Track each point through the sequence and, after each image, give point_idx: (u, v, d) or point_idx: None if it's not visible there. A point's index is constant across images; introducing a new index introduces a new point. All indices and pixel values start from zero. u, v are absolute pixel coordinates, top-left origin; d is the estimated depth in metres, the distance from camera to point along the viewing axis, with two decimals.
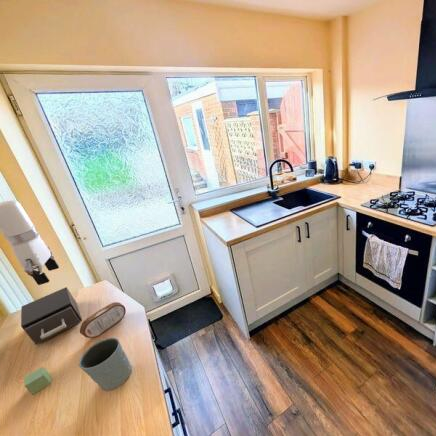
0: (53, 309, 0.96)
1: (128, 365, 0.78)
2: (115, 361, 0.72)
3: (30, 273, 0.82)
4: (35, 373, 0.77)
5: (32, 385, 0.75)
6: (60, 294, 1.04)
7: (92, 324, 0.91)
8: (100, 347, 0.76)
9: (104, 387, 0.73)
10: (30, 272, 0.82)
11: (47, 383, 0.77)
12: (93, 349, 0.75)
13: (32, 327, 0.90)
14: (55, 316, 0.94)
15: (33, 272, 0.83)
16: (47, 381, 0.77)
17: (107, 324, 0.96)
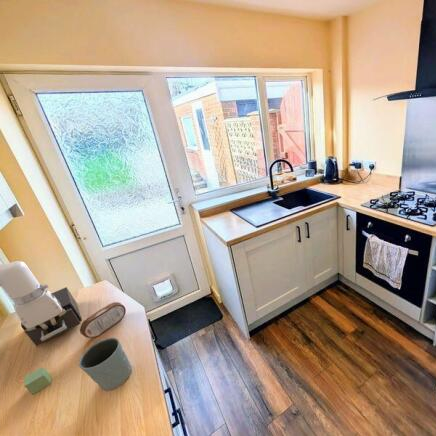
0: None
1: (128, 365, 0.78)
2: (115, 361, 0.72)
3: None
4: (35, 373, 0.77)
5: (32, 385, 0.75)
6: (60, 294, 1.04)
7: (92, 324, 0.91)
8: (100, 347, 0.76)
9: (104, 387, 0.73)
10: None
11: (47, 383, 0.77)
12: (93, 349, 0.75)
13: None
14: None
15: (35, 327, 0.87)
16: (47, 381, 0.77)
17: (107, 324, 0.96)
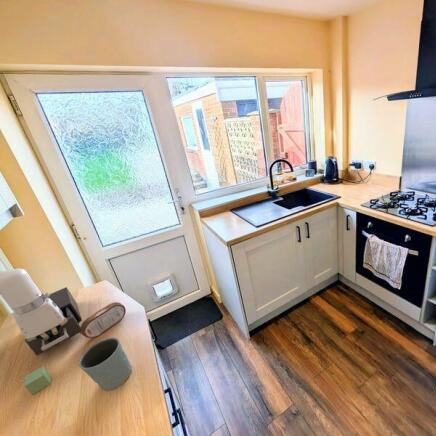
0: None
1: (128, 365, 0.78)
2: (115, 361, 0.72)
3: None
4: (35, 373, 0.77)
5: (32, 385, 0.75)
6: (60, 294, 1.04)
7: (92, 324, 0.91)
8: (100, 347, 0.76)
9: (104, 387, 0.73)
10: None
11: (47, 383, 0.77)
12: (93, 349, 0.75)
13: None
14: None
15: (36, 337, 0.83)
16: (47, 381, 0.77)
17: (107, 324, 0.96)
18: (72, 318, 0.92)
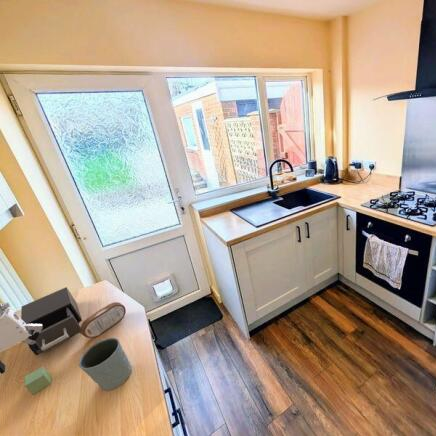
0: (53, 309, 0.96)
1: (128, 365, 0.78)
2: (115, 361, 0.72)
3: None
4: (35, 373, 0.77)
5: (32, 385, 0.75)
6: (60, 294, 1.04)
7: (92, 324, 0.91)
8: (100, 347, 0.76)
9: (104, 387, 0.73)
10: None
11: (47, 383, 0.77)
12: (93, 349, 0.75)
13: None
14: (57, 326, 0.89)
15: None
16: (47, 381, 0.77)
17: (107, 324, 0.96)
18: (72, 318, 0.92)
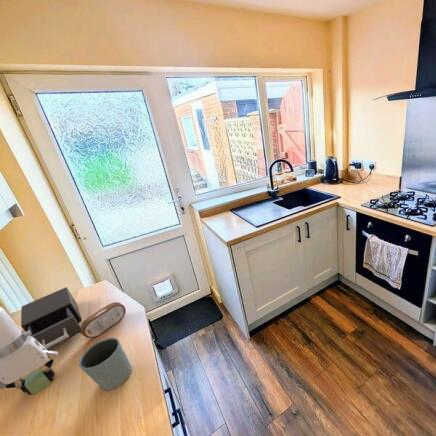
0: (53, 309, 0.96)
1: (128, 365, 0.78)
2: (115, 361, 0.72)
3: None
4: (35, 373, 0.77)
5: (32, 385, 0.75)
6: (60, 294, 1.04)
7: (92, 324, 0.91)
8: (100, 347, 0.76)
9: (104, 387, 0.73)
10: None
11: (47, 383, 0.77)
12: (93, 349, 0.75)
13: None
14: (57, 326, 0.89)
15: (6, 386, 0.72)
16: (47, 381, 0.77)
17: (107, 324, 0.96)
18: (72, 318, 0.92)
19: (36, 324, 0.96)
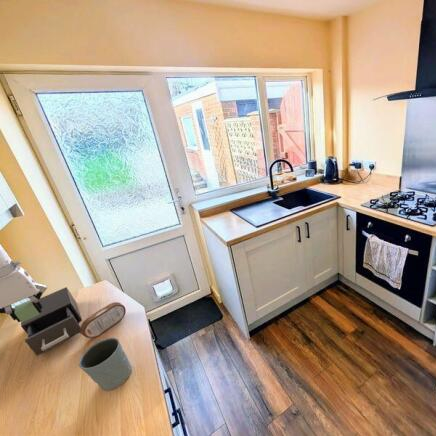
0: (53, 309, 0.96)
1: (128, 365, 0.78)
2: (115, 361, 0.72)
3: None
4: (25, 304, 0.82)
5: (21, 313, 0.80)
6: (60, 294, 1.04)
7: (92, 324, 0.91)
8: (100, 347, 0.76)
9: (104, 387, 0.73)
10: None
11: (36, 314, 0.82)
12: (93, 349, 0.75)
13: (32, 338, 0.85)
14: (57, 326, 0.89)
15: None
16: (36, 311, 0.82)
17: (107, 324, 0.96)
18: (72, 318, 0.92)
19: (36, 324, 0.96)
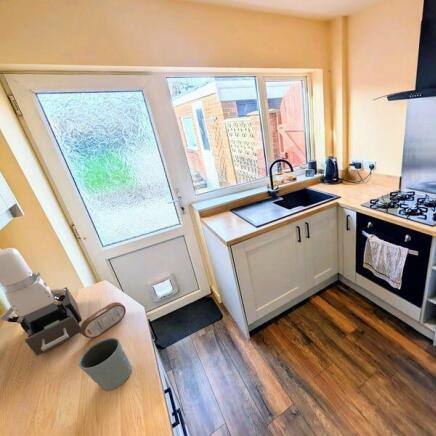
0: (53, 309, 0.96)
1: (128, 365, 0.78)
2: (115, 361, 0.72)
3: None
4: (53, 324, 0.93)
5: None
6: (60, 294, 1.04)
7: (92, 324, 0.91)
8: (100, 347, 0.76)
9: (104, 387, 0.73)
10: None
11: None
12: (93, 349, 0.75)
13: (32, 338, 0.85)
14: (57, 326, 0.89)
15: (8, 320, 0.83)
16: None
17: (107, 324, 0.96)
18: (72, 318, 0.92)
19: (36, 324, 0.96)
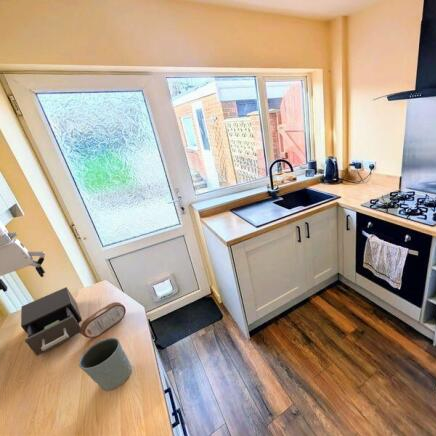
0: (53, 309, 0.96)
1: (128, 365, 0.78)
2: (115, 361, 0.72)
3: None
4: (53, 324, 0.93)
5: None
6: (60, 294, 1.04)
7: (92, 324, 0.91)
8: (100, 347, 0.76)
9: (104, 387, 0.73)
10: None
11: None
12: (93, 349, 0.75)
13: (32, 338, 0.85)
14: (57, 326, 0.89)
15: None
16: None
17: (107, 324, 0.96)
18: (72, 318, 0.92)
19: (36, 324, 0.96)
